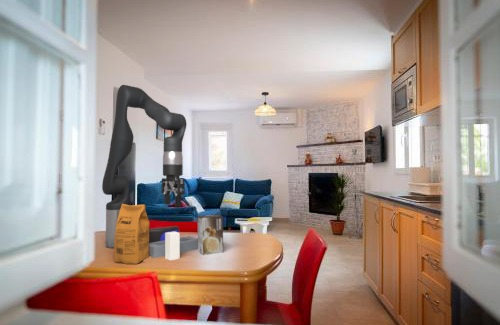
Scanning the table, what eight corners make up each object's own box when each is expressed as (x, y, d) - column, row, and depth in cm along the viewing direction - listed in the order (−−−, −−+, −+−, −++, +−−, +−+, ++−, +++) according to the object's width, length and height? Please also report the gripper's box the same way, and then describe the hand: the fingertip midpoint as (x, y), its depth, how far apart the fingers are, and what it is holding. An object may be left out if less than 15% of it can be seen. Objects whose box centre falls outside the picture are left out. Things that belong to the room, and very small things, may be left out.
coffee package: (127, 256, 125) (128, 202, 126) (152, 258, 121) (153, 203, 122) (109, 262, 116) (109, 204, 117) (135, 265, 112) (135, 205, 112)
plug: (165, 258, 118) (165, 232, 118) (174, 256, 120) (174, 231, 121) (170, 260, 115) (170, 234, 115) (179, 258, 118) (179, 232, 118)
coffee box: (218, 251, 131) (217, 214, 132) (223, 254, 126) (223, 215, 126) (197, 254, 127) (197, 215, 128) (202, 257, 122) (202, 217, 122)
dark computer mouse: (145, 252, 130) (145, 230, 130) (142, 250, 134) (142, 229, 134) (181, 247, 139) (181, 226, 139) (178, 245, 143) (178, 225, 143)
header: (144, 256, 125) (144, 243, 125) (189, 247, 139) (189, 236, 139) (154, 260, 118) (154, 247, 118) (199, 250, 132) (199, 239, 133)
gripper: (155, 163, 122) (155, 204, 121) (172, 163, 111) (172, 207, 111) (172, 164, 127) (172, 203, 126) (190, 163, 116) (190, 206, 116)
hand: (172, 205), depth 118 cm, fingers open, 8 cm apart
